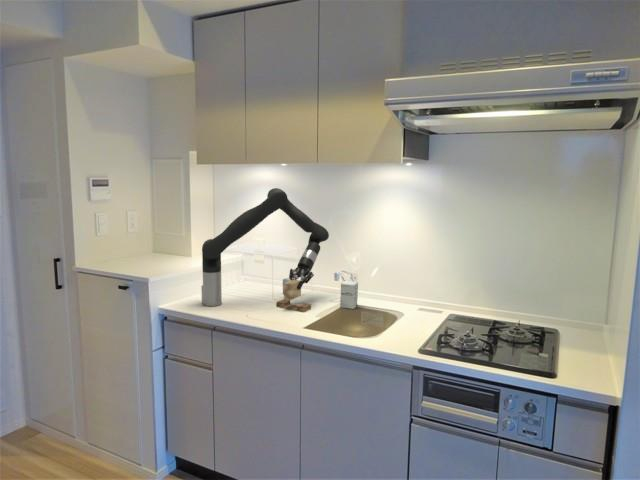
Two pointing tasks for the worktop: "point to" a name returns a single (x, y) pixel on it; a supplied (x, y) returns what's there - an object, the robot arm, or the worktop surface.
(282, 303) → the notched beam
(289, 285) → the oak crosspiece
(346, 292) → the supplement box
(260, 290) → the worktop surface
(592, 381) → the worktop surface
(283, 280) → the medicine box
